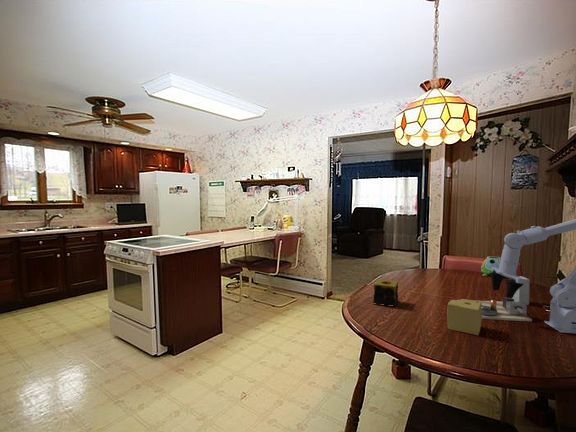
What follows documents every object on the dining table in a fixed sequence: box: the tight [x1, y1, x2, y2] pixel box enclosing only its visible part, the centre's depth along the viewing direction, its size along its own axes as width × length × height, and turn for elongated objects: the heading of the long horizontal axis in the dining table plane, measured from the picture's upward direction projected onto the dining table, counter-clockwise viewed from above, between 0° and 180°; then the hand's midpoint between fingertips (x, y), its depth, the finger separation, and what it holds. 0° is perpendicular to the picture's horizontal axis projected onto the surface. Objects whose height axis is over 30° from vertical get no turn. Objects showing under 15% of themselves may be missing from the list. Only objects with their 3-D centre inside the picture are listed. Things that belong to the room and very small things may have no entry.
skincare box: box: [513, 275, 530, 306], centre depth 136 cm, size 6×4×12 cm
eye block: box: [506, 301, 528, 316], centre depth 120 cm, size 3×6×5 cm, turn 79°
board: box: [473, 300, 533, 322], centre depth 127 cm, size 20×20×1 cm
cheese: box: [446, 298, 483, 336], centre depth 111 cm, size 10×11×10 cm
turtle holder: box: [480, 255, 501, 277], centre depth 181 cm, size 12×18×12 cm
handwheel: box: [482, 299, 497, 316], centre depth 123 cm, size 9×9×5 cm
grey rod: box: [502, 296, 524, 313], centre depth 122 cm, size 12×3×4 cm, turn 169°
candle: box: [372, 279, 399, 307], centre depth 139 cm, size 10×10×10 cm
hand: (502, 293), depth 119 cm, fingers open, 7 cm apart
